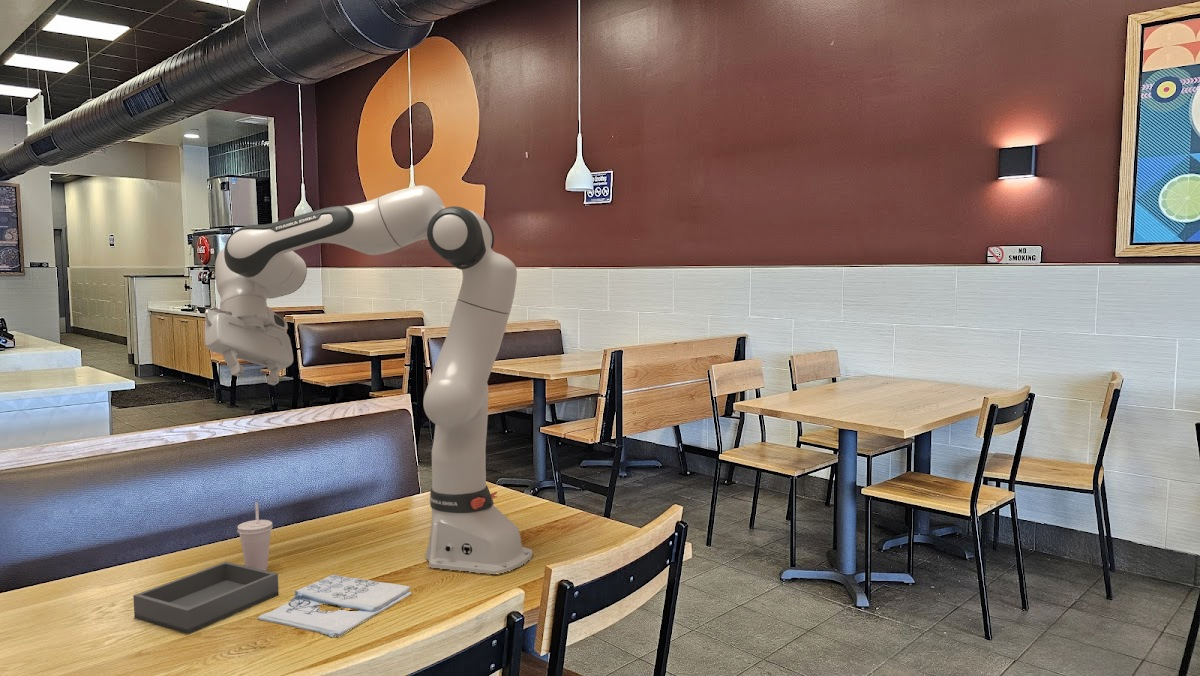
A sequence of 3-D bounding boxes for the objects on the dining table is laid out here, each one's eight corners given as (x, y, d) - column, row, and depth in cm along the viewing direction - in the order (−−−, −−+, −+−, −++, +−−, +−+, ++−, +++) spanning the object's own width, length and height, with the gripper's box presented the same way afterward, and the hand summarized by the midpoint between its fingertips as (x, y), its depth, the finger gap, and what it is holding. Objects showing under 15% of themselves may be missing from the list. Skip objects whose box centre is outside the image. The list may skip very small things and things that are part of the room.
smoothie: (261, 579, 151) (258, 508, 150) (231, 577, 152) (228, 506, 151) (281, 567, 157) (278, 499, 156) (252, 565, 158) (250, 497, 157)
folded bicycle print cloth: (414, 596, 144) (414, 585, 144) (336, 643, 126) (335, 630, 125) (334, 581, 152) (334, 570, 152) (249, 622, 133) (248, 610, 133)
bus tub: (278, 594, 144) (277, 573, 143) (188, 634, 128) (187, 610, 127) (226, 581, 150) (225, 561, 150) (134, 618, 134) (133, 595, 134)
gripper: (216, 297, 150) (227, 361, 145) (292, 324, 169) (303, 382, 164) (192, 311, 152) (201, 375, 147) (269, 336, 170) (280, 394, 165)
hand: (256, 379), depth 156 cm, fingers open, 8 cm apart
